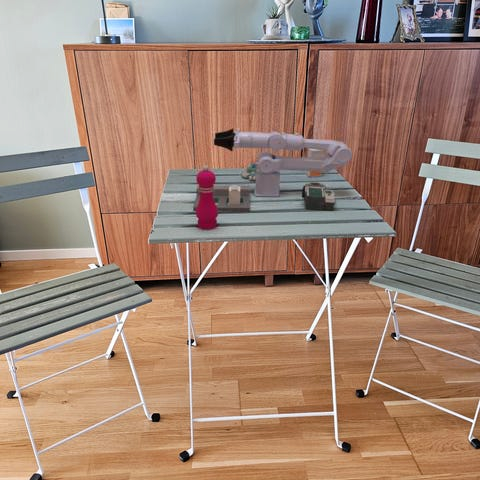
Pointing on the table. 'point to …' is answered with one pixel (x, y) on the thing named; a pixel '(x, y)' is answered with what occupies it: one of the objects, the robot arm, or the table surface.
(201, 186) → the pepper mill
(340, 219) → the table surface
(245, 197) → the socket panel
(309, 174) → the skincare box
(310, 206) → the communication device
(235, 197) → the plug
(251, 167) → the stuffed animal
